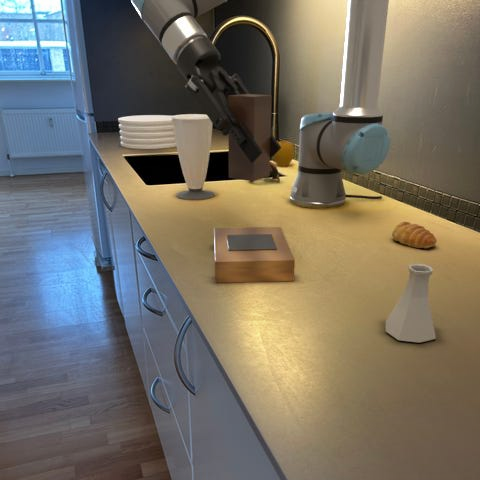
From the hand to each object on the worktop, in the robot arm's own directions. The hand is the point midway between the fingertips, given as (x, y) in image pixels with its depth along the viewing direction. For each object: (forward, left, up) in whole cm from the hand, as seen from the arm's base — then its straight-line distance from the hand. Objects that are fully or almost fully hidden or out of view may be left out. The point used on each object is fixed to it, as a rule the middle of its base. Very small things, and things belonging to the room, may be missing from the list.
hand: (266, 154), depth 91 cm
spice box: (+3, -2, -4) cm, 6 cm away
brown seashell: (-7, -73, -20) cm, 77 cm away
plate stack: (+38, -157, -20) cm, 163 cm away
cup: (+15, -55, -20) cm, 61 cm away
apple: (-17, -101, -20) cm, 104 cm away
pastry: (-33, -9, -20) cm, 40 cm away
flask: (-18, +31, -20) cm, 41 cm away
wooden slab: (+3, +1, -20) cm, 20 cm away
